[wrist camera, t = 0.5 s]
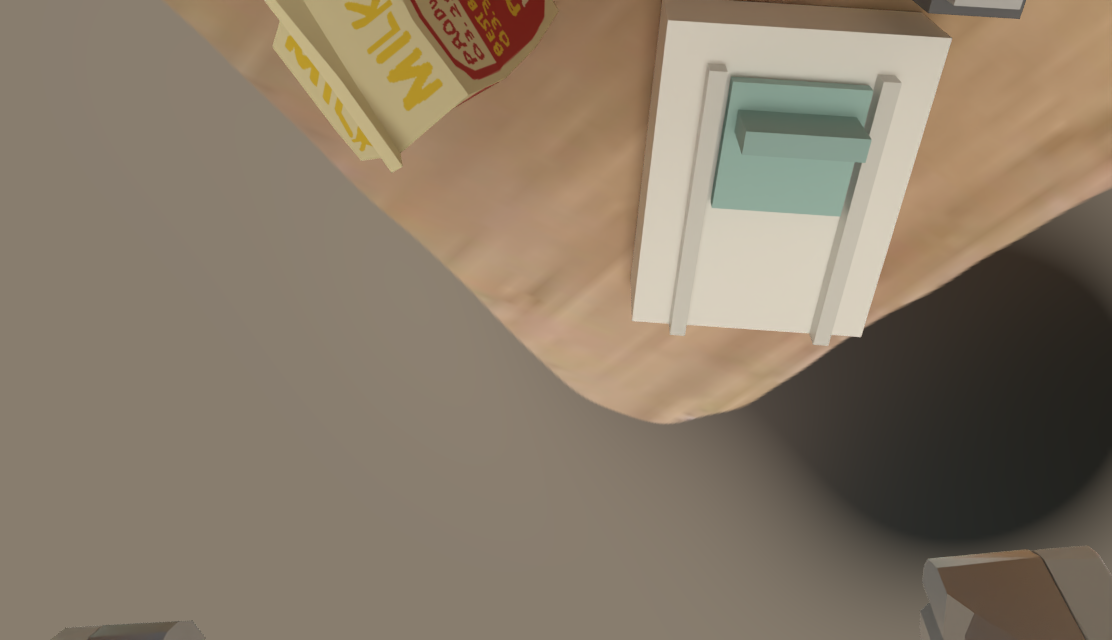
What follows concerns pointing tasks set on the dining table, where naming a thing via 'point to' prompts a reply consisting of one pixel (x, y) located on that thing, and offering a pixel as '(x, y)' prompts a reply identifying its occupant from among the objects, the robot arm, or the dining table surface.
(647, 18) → the dining table surface
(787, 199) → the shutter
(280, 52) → the milk carton
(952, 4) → the plug
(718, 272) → the socket
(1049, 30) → the dining table surface
